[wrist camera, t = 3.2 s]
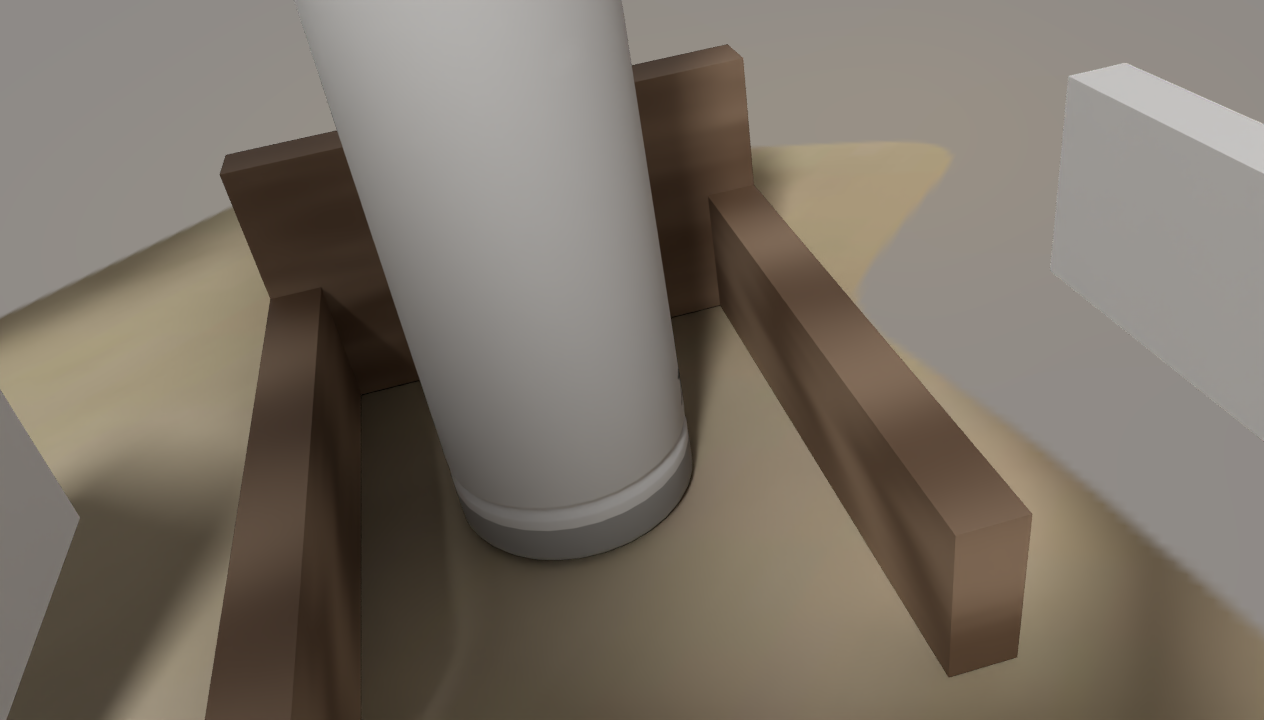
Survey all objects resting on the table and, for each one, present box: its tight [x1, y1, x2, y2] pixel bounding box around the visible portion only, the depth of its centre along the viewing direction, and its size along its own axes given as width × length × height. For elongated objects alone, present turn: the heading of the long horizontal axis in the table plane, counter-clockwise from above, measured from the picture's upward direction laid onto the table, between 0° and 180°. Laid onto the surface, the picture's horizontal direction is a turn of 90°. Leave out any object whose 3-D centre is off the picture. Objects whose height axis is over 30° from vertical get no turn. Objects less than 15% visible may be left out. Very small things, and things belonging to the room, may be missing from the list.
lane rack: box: [205, 44, 1032, 720], centre depth 25 cm, size 18×15×8 cm
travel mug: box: [294, 0, 692, 560], centre depth 22 cm, size 6×7×20 cm
